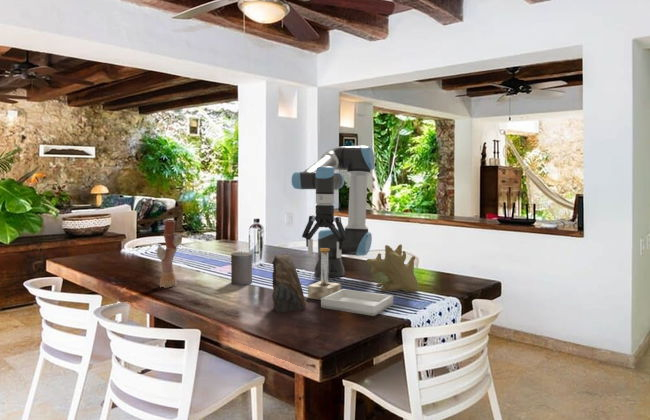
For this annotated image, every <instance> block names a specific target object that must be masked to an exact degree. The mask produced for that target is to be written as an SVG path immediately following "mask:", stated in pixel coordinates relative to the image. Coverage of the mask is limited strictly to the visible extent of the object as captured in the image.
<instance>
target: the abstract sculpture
mask: <svg viewBox="0 0 650 420" xmlns="http://www.w3.org/2000/svg"><path fill="white" fill-rule="evenodd" d="M162 223H163V224H164V229H163V238H164V241H165V248H164V247H162V246H157V249H156V256H157V258H158V259H159V260H160V261H161V276H160V281H159V288H161V287H164V288H163V289H170V288H169V287H172V288H175V287H177V285H178V281H177V278H176V274H175V272H174V268H173V267H174V266H173V260H174V257H175V255H176V252H177V251H178V250H177V248H178V247H179V246H180V245H181V244H182V241H183V236H182V234H180V233H179V234H176V235H175V229H176V220H173V219H163V220H162Z"/></svg>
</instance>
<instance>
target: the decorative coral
mask: <svg viewBox="0 0 650 420" xmlns="http://www.w3.org/2000/svg"><path fill="white" fill-rule="evenodd" d="M402 249H403V245H402V244H401V243H400V244H399V245H398V246H397V247H396V248H395V250H393V248H392V247H391V246H390V245H387V244H385V246H384V251H385V253H384V257H383V258H382V254H381V253H377V256H376V258H368V259H366V262H367V264H369V265H370V266H372V268H371V270H370V274H371V275H372V274H373V275H374V274H377V273H382V274H383V276H385V277H386V278H387V279H388V281H386V282H377V283H376V284H375V285H376V287H377V288H379V289H380V292H386V291H387V292H388V291H392V292H395V291H399V290H400V291H403V292H406V293H414V292H416V291H417V289H418V286H419V285H418V284H419V283H418V280H417V277H416V275H415V273H414V271H415V270H414V269H415V268H414V267H415V260H416V256H415V255H413V256H411V258H410V259H409V260H408V262H407V263H405V261H406V259H407V253H406V251H405V250H402Z"/></svg>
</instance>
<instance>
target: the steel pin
mask: <svg viewBox="0 0 650 420" xmlns="http://www.w3.org/2000/svg"><path fill="white" fill-rule="evenodd" d="M320 251H321V277H320V281H321V286H328V282H329V277H328V251H330V249H329V248H320Z"/></svg>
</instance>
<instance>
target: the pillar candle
mask: <svg viewBox="0 0 650 420" xmlns="http://www.w3.org/2000/svg"><path fill="white" fill-rule="evenodd" d="M230 256H231V257H230V261H231V262H230V263H231V264H230V266H231V267H230V268H231V269H230V270H231V271H230V273H231V274H230V276H231V278H230V280H231V282H230V283H231V284H232V285H235V286H245V285H251V284H252V283H253V252H248V251H242V250H241V251H237V252H236V251H235V252H232V253H231V254H230Z"/></svg>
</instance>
